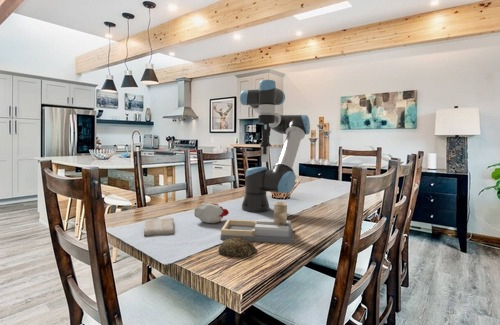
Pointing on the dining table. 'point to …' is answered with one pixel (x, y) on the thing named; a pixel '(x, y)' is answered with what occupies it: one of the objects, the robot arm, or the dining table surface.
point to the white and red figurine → (210, 213)
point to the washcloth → (159, 226)
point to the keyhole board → (258, 231)
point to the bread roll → (237, 248)
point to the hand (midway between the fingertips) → (265, 160)
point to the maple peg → (280, 212)
